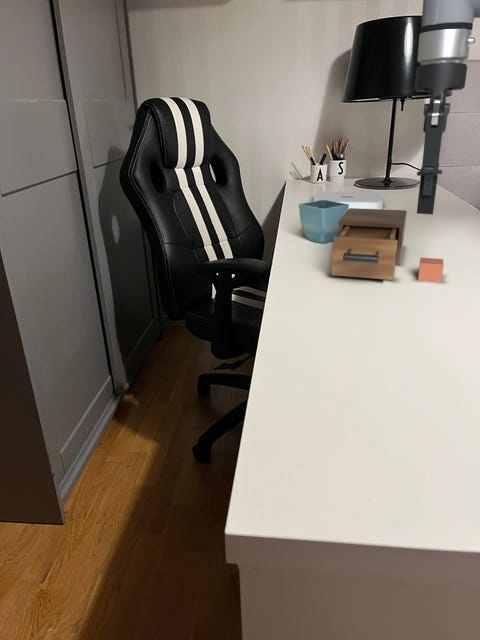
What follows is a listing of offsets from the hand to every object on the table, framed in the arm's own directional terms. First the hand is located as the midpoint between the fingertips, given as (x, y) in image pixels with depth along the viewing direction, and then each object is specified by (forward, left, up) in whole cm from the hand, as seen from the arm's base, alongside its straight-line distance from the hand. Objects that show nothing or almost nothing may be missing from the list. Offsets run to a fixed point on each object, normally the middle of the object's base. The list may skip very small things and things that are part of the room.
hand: (424, 213), depth 88 cm
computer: (+24, -77, -13) cm, 82 cm away
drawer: (+10, -2, -12) cm, 16 cm away
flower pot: (+23, -27, -13) cm, 38 cm away
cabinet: (+10, -15, -13) cm, 22 cm away
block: (-2, -1, -13) cm, 13 cm away
